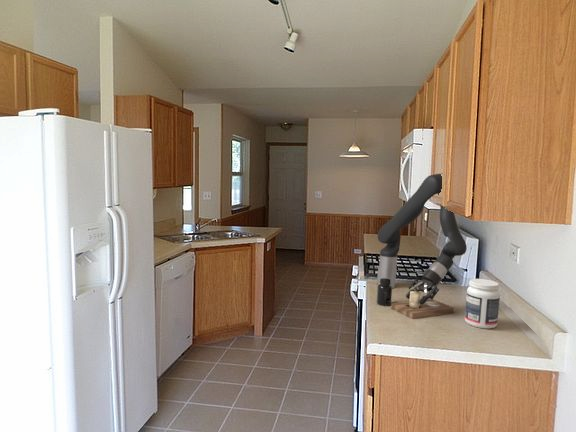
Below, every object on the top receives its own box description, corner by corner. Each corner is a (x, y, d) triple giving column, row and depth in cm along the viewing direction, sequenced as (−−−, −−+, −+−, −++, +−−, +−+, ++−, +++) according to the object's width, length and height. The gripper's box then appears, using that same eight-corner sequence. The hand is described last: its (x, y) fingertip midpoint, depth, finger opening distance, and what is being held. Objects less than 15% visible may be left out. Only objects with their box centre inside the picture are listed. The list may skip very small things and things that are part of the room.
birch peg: (406, 310, 196) (408, 291, 195) (414, 309, 198) (415, 290, 197) (413, 314, 192) (414, 294, 191) (420, 312, 194) (422, 293, 193)
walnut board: (391, 308, 199) (391, 303, 198) (431, 303, 209) (431, 298, 208) (412, 318, 186) (412, 312, 186) (453, 312, 196) (453, 307, 196)
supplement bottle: (373, 302, 207) (375, 278, 206) (385, 301, 210) (386, 277, 208) (382, 306, 201) (383, 281, 199) (394, 305, 204) (395, 280, 202)
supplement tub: (493, 321, 187) (497, 279, 185) (500, 331, 175) (504, 287, 173) (462, 317, 190) (465, 276, 188) (466, 327, 178) (470, 284, 176)
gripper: (420, 265, 203) (399, 291, 199) (442, 272, 190) (420, 300, 187) (427, 275, 206) (407, 301, 202) (450, 283, 193) (429, 310, 189)
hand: (413, 300), depth 194 cm, fingers open, 8 cm apart
